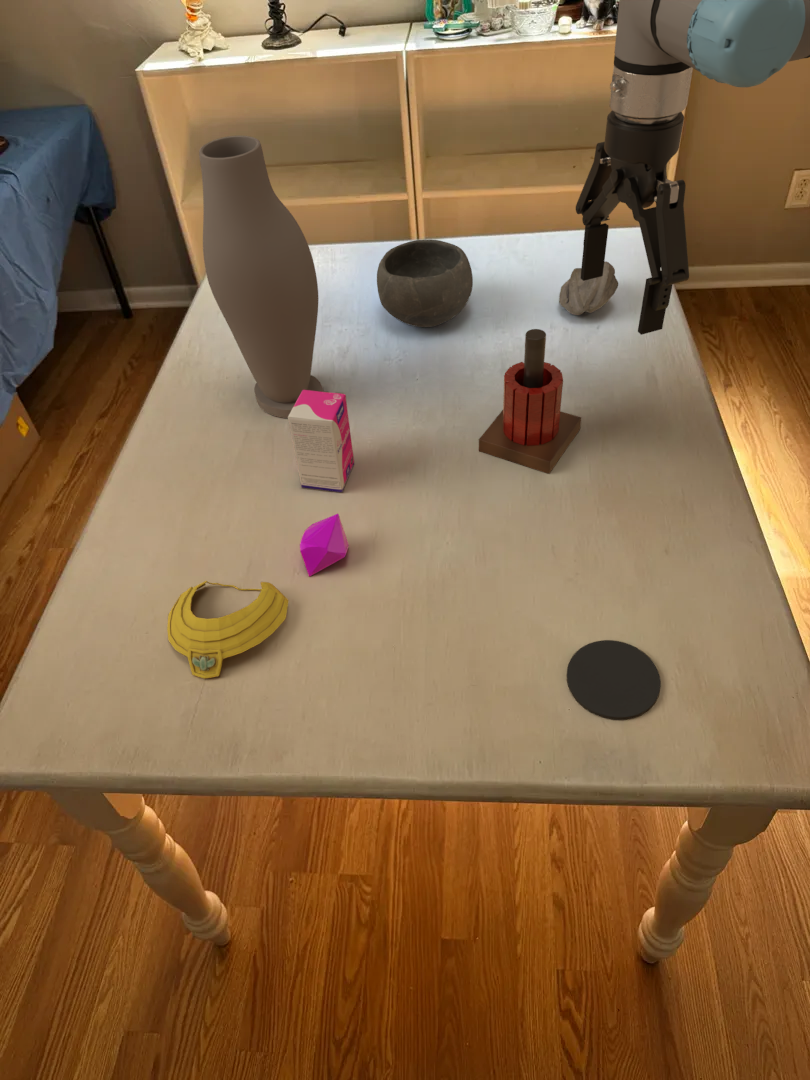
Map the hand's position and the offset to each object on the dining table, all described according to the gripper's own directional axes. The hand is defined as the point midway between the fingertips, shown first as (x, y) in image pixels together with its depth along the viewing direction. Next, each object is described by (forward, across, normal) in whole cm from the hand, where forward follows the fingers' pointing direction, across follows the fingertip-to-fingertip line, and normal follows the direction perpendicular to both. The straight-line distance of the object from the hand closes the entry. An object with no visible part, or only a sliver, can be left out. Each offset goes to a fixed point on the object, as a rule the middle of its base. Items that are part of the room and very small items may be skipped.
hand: (619, 302), depth 94 cm
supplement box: (+17, -3, -38) cm, 42 cm away
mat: (+17, +38, -20) cm, 46 cm away
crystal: (+17, +10, -42) cm, 47 cm away
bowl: (+17, -34, -13) cm, 40 cm away
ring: (+15, +1, -11) cm, 19 cm away
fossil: (+17, -26, +11) cm, 33 cm away
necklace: (+17, +16, -56) cm, 60 cm away
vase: (+17, -22, -39) cm, 48 cm away
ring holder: (+17, +1, -11) cm, 20 cm away
